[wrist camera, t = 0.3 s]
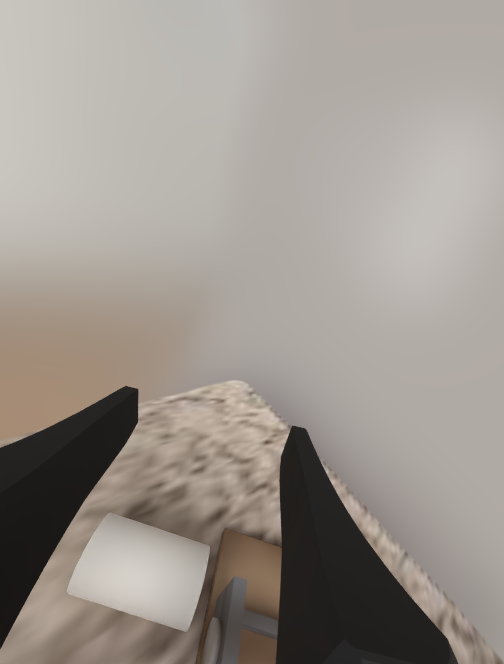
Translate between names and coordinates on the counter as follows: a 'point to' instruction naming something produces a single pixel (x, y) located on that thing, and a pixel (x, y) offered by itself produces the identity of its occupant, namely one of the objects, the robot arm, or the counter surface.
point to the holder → (242, 603)
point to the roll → (142, 571)
